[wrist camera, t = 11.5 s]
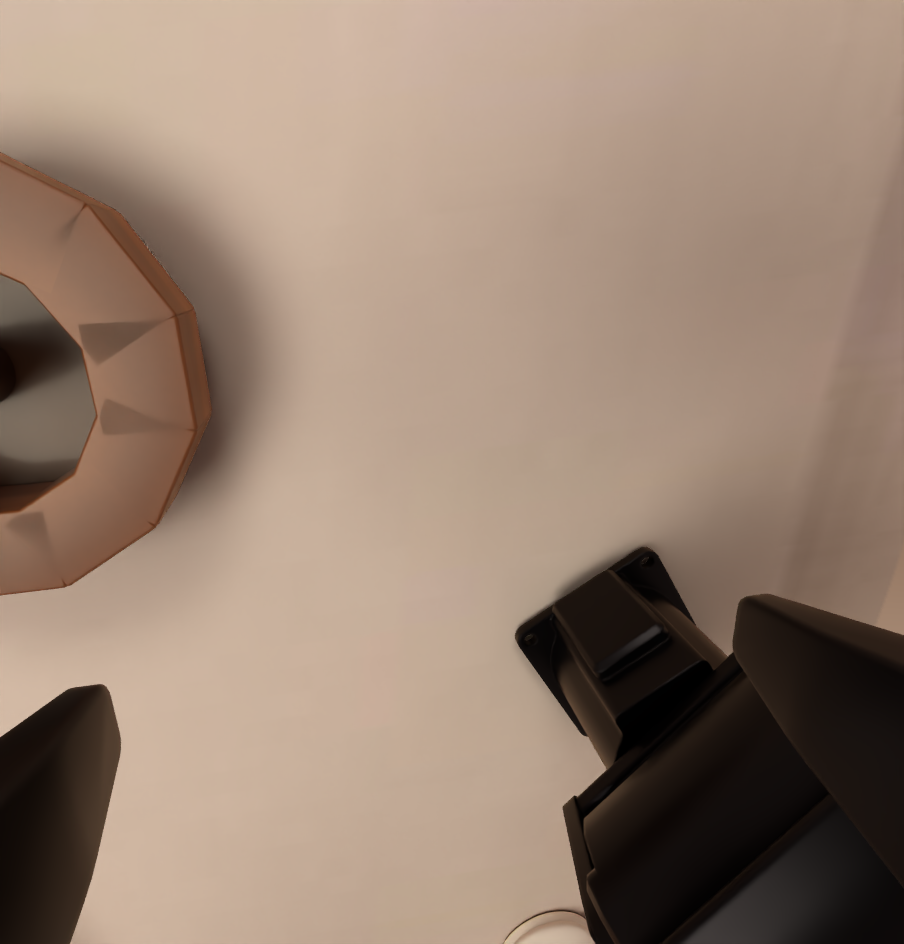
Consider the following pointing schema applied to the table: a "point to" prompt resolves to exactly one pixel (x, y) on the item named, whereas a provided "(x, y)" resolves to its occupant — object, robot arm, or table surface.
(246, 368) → the table surface
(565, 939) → the chess piece
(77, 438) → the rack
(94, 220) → the ring
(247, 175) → the table surface
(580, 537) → the table surface
